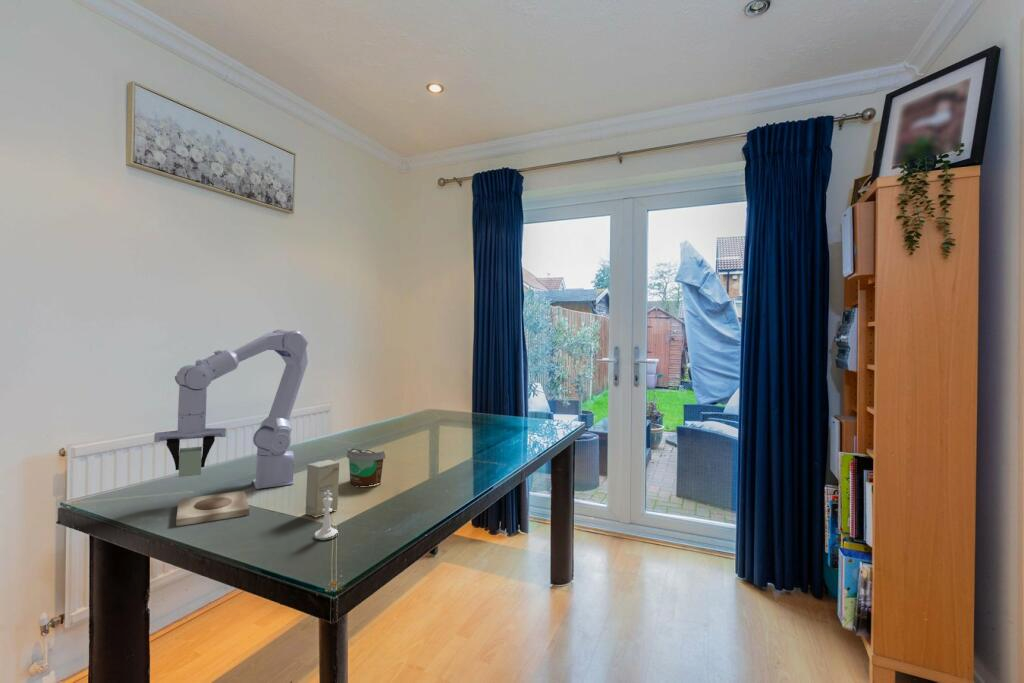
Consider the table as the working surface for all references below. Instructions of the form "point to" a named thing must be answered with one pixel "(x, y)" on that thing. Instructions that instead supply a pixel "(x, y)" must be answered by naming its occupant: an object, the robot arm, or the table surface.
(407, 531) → the table surface
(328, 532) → the chess piece
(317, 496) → the skincare box
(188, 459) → the green block
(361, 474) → the food container
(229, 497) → the display base
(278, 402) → the robot arm
